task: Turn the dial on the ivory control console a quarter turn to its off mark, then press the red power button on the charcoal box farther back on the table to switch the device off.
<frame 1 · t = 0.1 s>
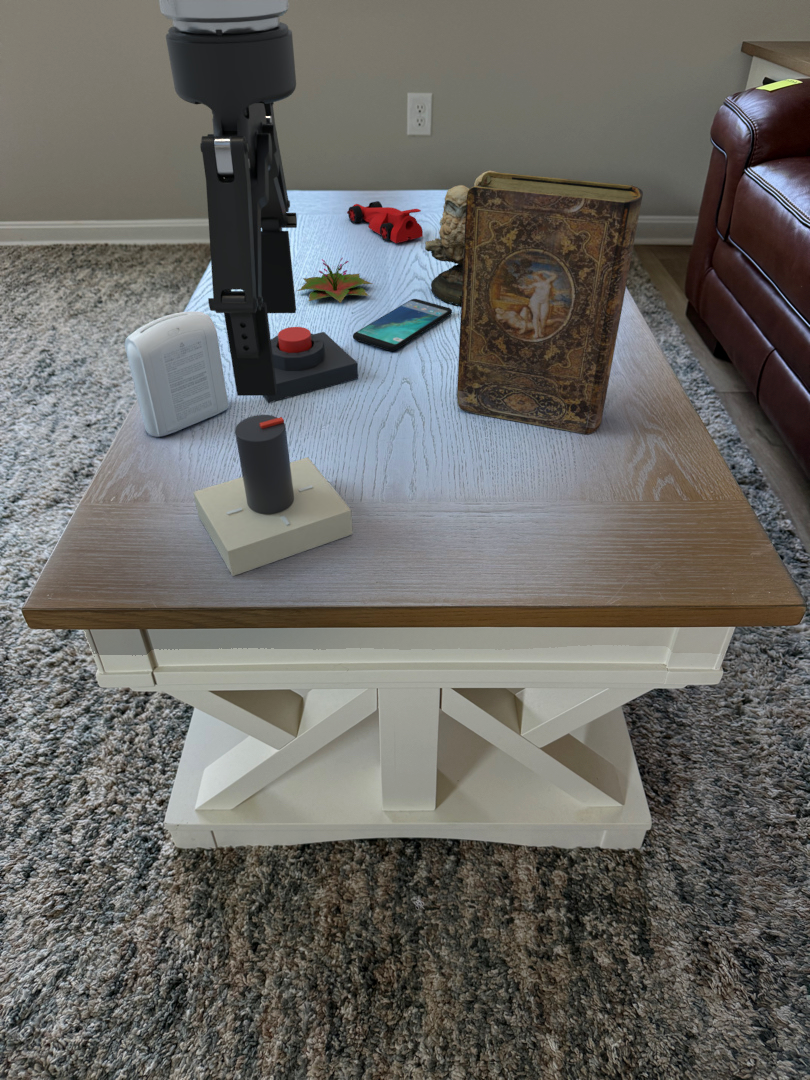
hand: (269, 349, 61), 20 cm above the table, tool pointing down, fingers open, 13 cm apart
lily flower: (335, 292, 119), on the table
power button: (294, 340, 96), point 4 cm above the table, slide at 0.1 cm
power box: (298, 373, 99), on the table
console: (274, 525, 76), on the table
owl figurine: (484, 295, 118), on the table
dial: (265, 463, 71), point 7 cm above the table, hinge at 0.0°
toy car: (381, 229, 140), on the table
smartphone: (403, 327, 109), on the table
book: (530, 413, 92), on the table
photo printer: (188, 420, 91), on the table
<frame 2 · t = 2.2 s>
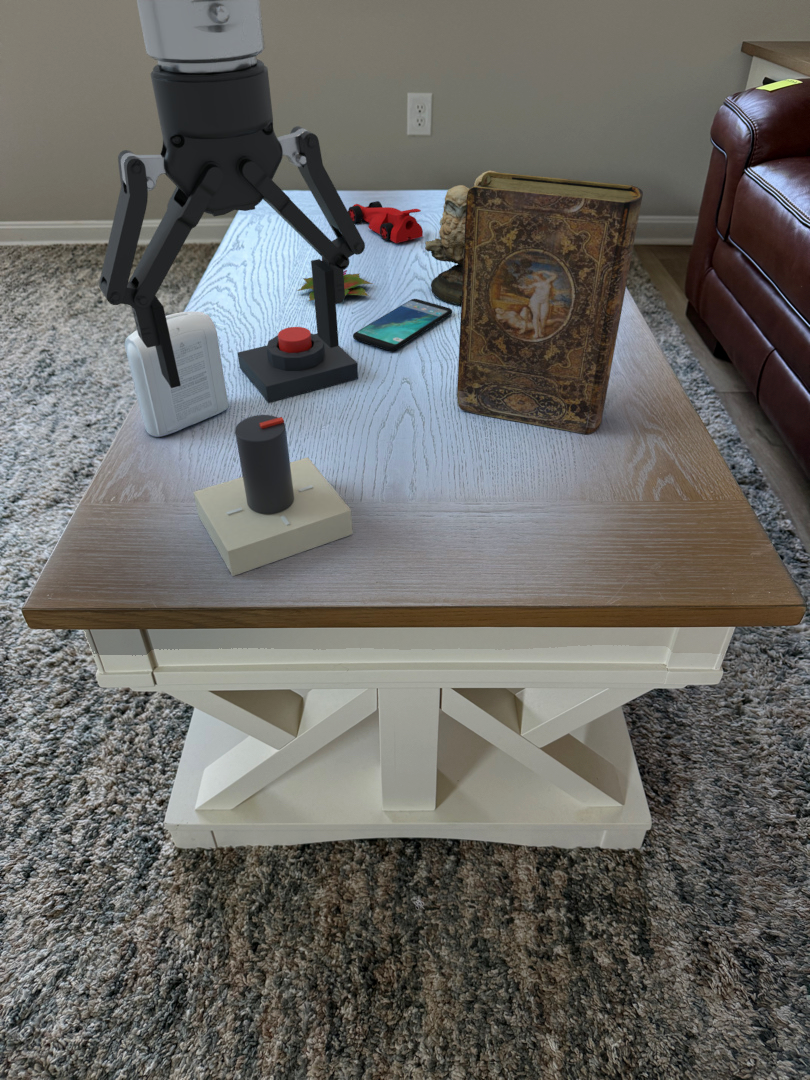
hand: (252, 360, 64), 18 cm above the table, tool pointing down, fingers open, 13 cm apart
nothing on the table moved.
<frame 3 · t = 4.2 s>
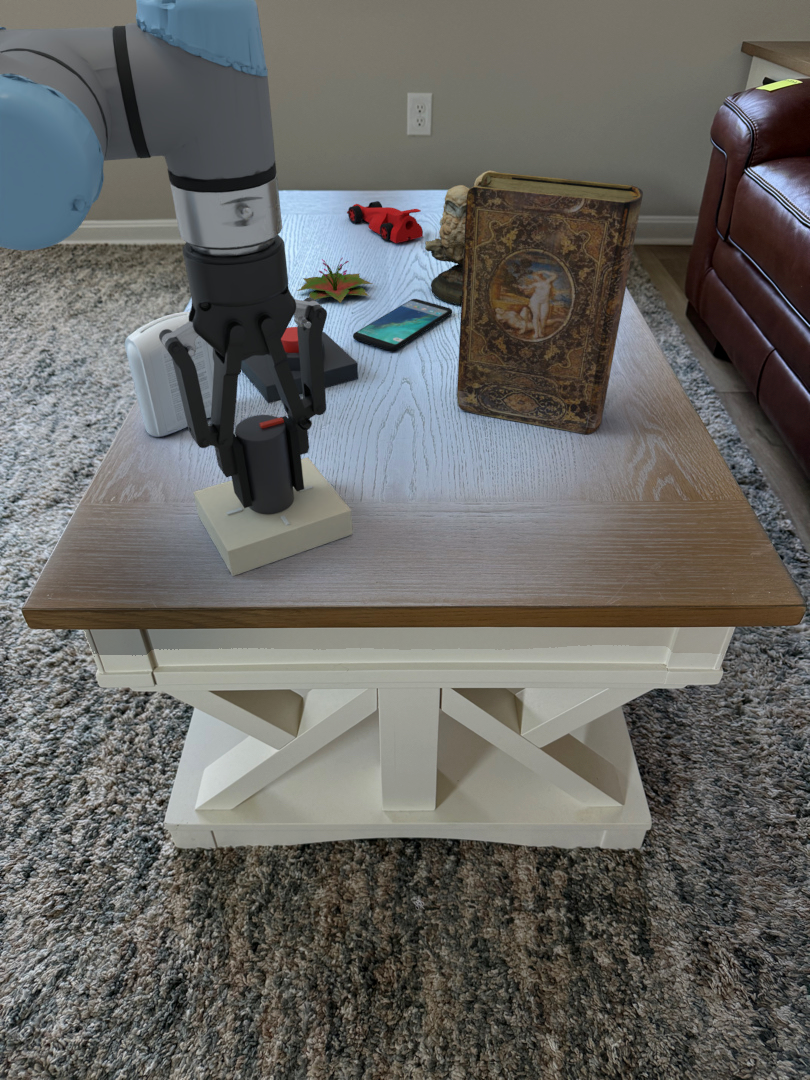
hand: (269, 490, 73), 4 cm above the table, tool pointing down, fingers closed on dial, 4 cm apart
dial: (265, 463, 71), point 7 cm above the table, hinge at 0.0°, touching gripper
everything else where it was.
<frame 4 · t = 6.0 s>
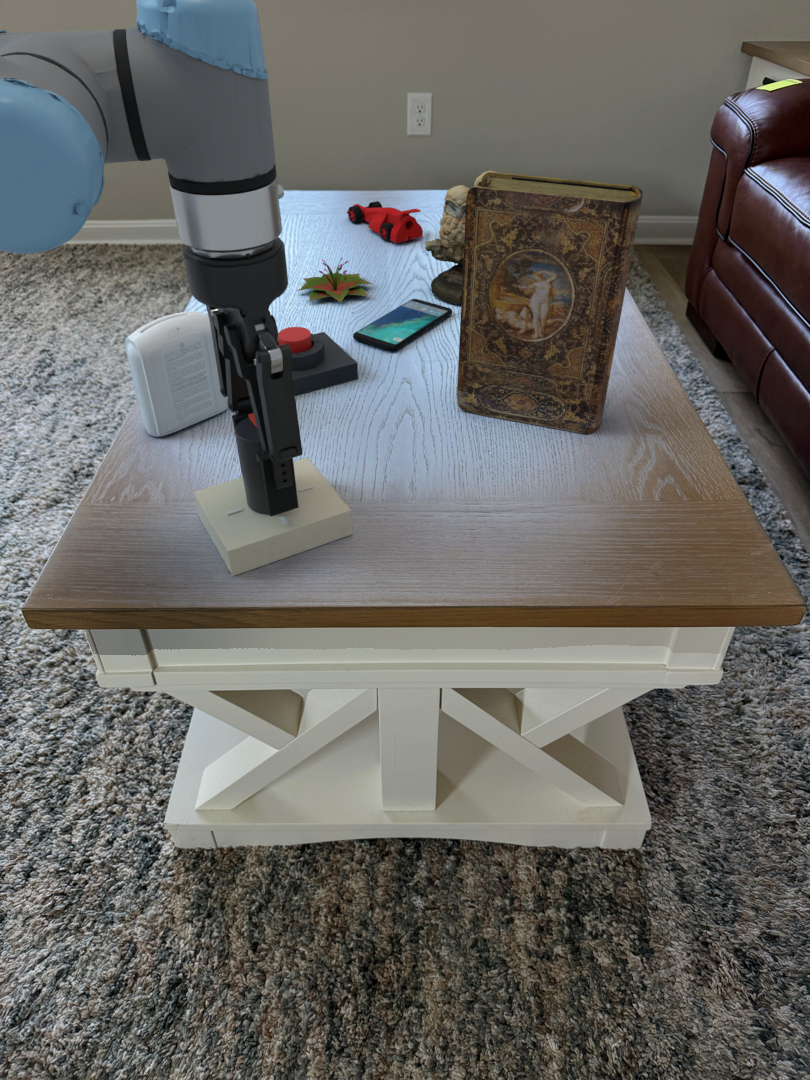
hand: (269, 490, 73), 4 cm above the table, tool pointing down, fingers open, 6 cm apart
dial: (265, 463, 71), point 7 cm above the table, hinge at 90.3°
everything else where it was.
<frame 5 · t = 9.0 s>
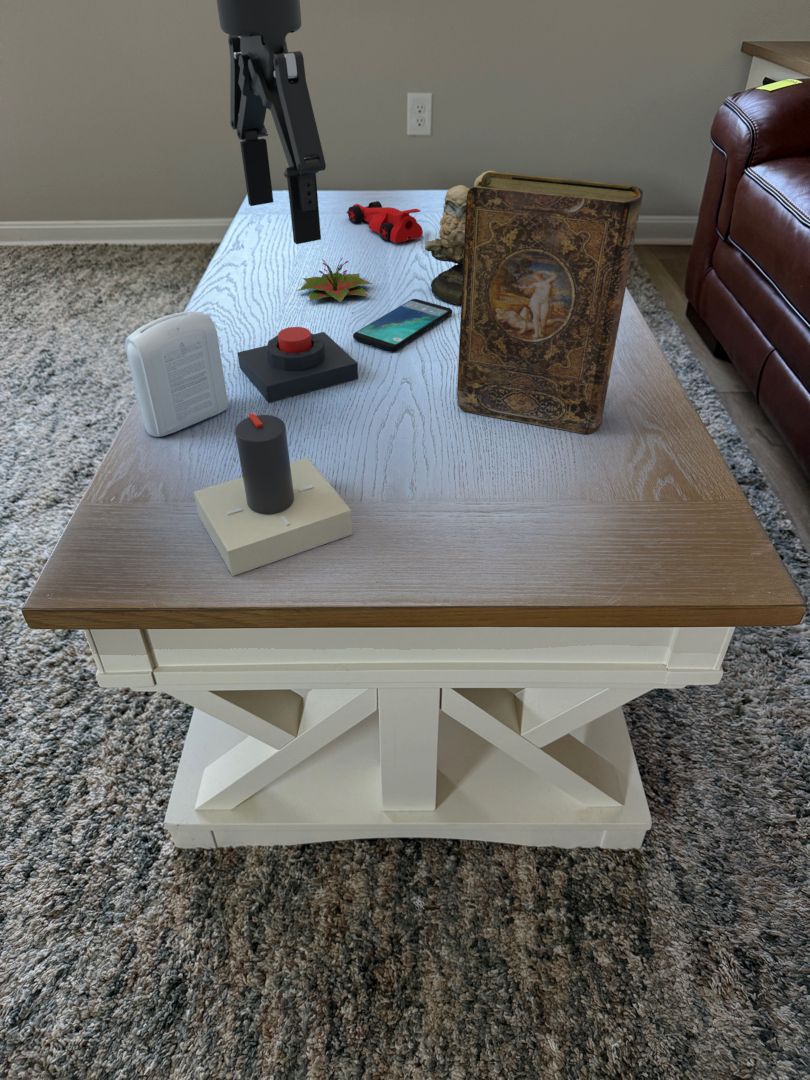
hand: (283, 221, 85), 20 cm above the table, tool pointing down, fingers open, 13 cm apart
nothing on the table moved.
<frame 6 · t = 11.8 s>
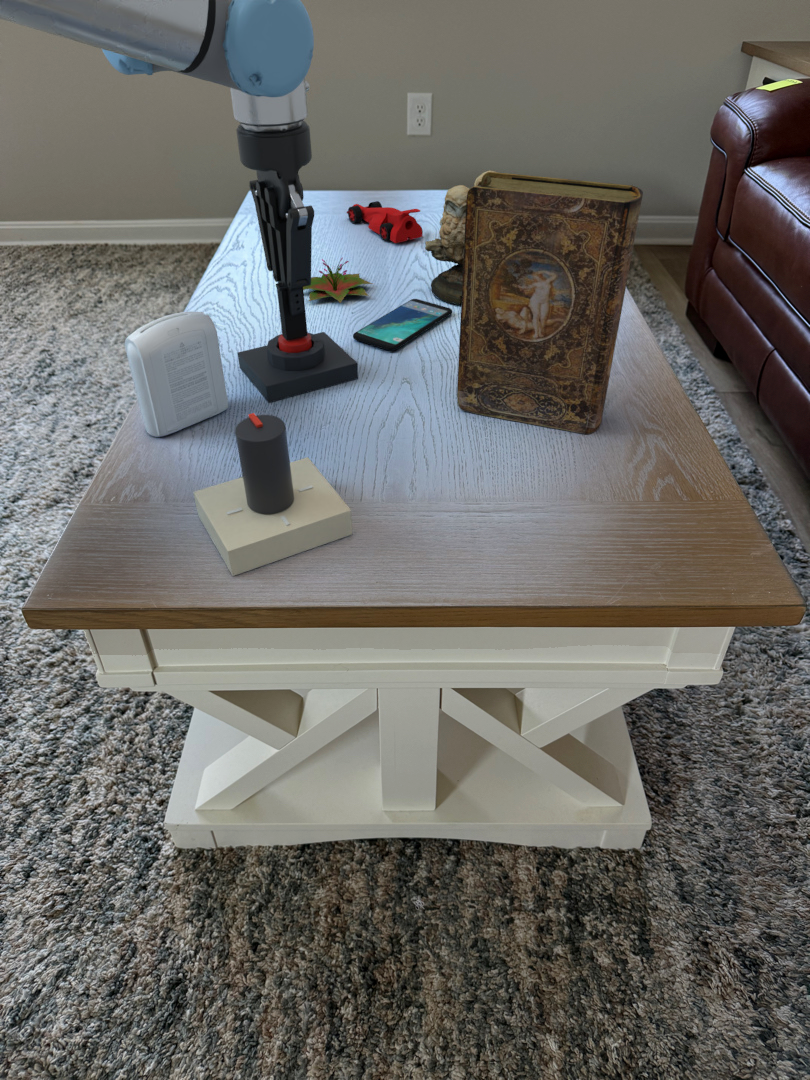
hand: (295, 335, 96), 5 cm above the table, tool pointing down, fingers closed
power button: (295, 344, 97), point 4 cm above the table, slide at -0.4 cm, touching gripper
everything else where it was.
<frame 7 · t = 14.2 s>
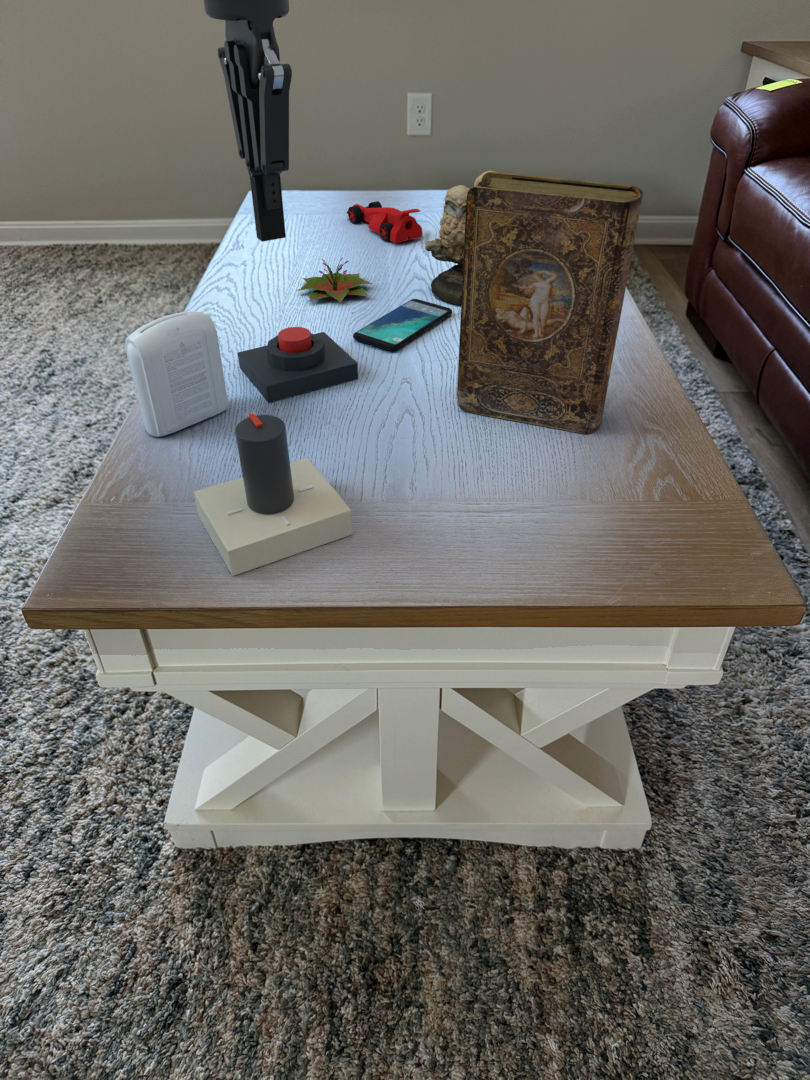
hand: (271, 237, 83), 19 cm above the table, tool pointing down, fingers closed
power button: (294, 340, 96), point 4 cm above the table, slide at 0.1 cm
everything else where it was.
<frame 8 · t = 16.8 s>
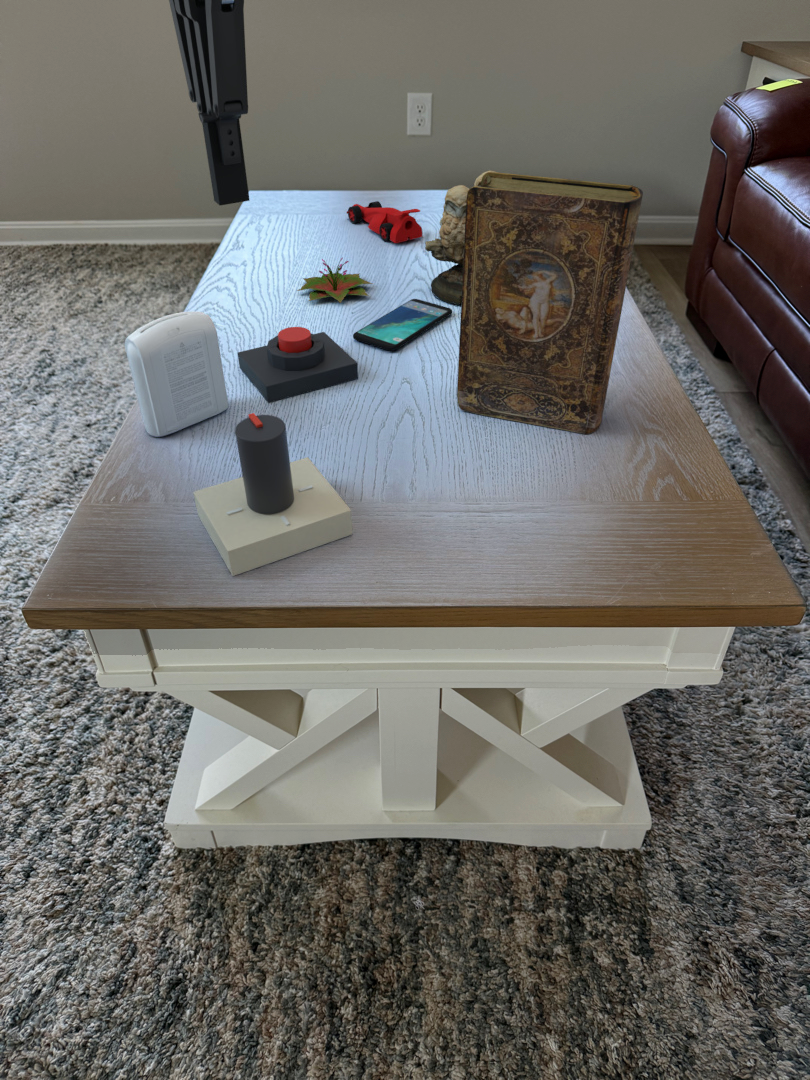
hand: (231, 200, 68), 26 cm above the table, tool pointing down, fingers closed
nothing on the table moved.
at the end: dial at +90° (first picture: +0°); power button pushed in 1.0 cm at the most during the clip, back to where it started at the end; power button slide at 0.1 cm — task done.
